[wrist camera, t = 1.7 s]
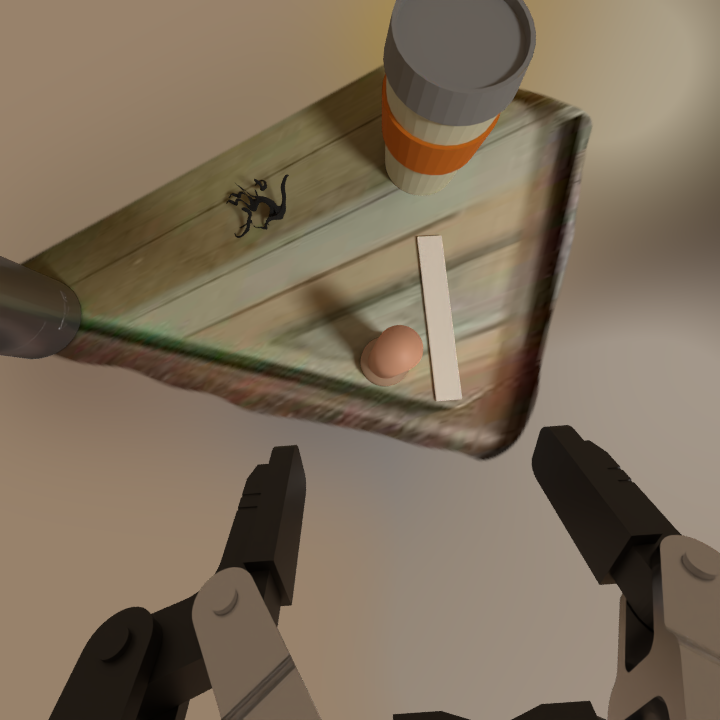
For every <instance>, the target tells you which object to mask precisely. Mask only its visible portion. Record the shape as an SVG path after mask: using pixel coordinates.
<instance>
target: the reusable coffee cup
mask: <svg viewBox="0 0 720 720" xmlns="http://www.w3.org/2000/svg"><path fill="white" fill-rule="evenodd" d="M535 45H536V31H535V27H534V22H533V18H532V16H531V14H530V11H529V9H528V8H527V6H526V4H525V3H524V1H523V0H396V3H395V6H394V9H393V12H392V16H391V20H390V25H389V30H388V34H387V38H386V43H385V47H384V58H383V60H384V68H385V76H384V79H383V86H382V133H383V138H384V141H385V166H386V170H387V173H388V176H389V177H390V179H391V181H392V182H393V183H394V184H395V185H396V186H397V187H398V188H400V189H401V190H403V191H405V192H407V193H409V194H412V195H418V196H427V195H431V194H435V193H437V192H439V191H441V190H442V189H443V188H445V187H446V186H447V184H448V183H449V182H450V181H451V179H452V178H453V176H454V175H455V174H456V172H457V171H458V169H460V168H461V167H462V166H464V165H465V164H466V163H467V162H468V161H469V160H470V159H471V158H472V156H473V155H474V154H475V152H476V151H477V150H478V148H479V147H480V145H481V144H482V143H483V141H484V140H485V139H486V137H487V136H488V135H489V133H490V132H491V131H492V129H493V128H494V126H495V124H496V123H497V121H498V119H499V116H500V113H501V112H502V111H503V110H505V108H506V107H507V106H508V105H509V104H510V103H511V101H512V100H513V98H514V96H515V94H516V92H517V90H518V88H519V86H520V83H521V81H522V79H523V77H524V75H525V72H526V70H527V68H528V66H529V63H530V61H531V59H532V57H533V53H534V49H535Z"/></svg>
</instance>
